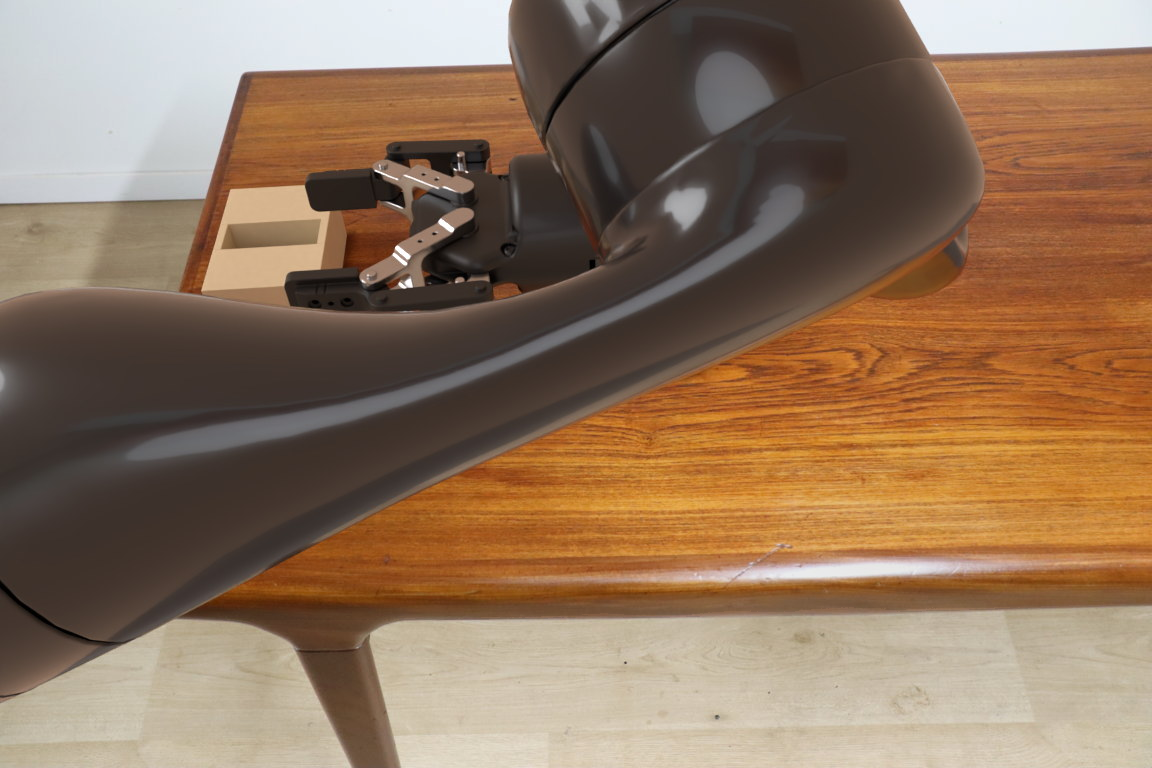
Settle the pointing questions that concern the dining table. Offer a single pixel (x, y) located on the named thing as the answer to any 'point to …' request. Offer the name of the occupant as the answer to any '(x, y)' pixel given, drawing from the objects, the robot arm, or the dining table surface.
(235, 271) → the tan slotted wooden block
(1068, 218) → the dining table surface
